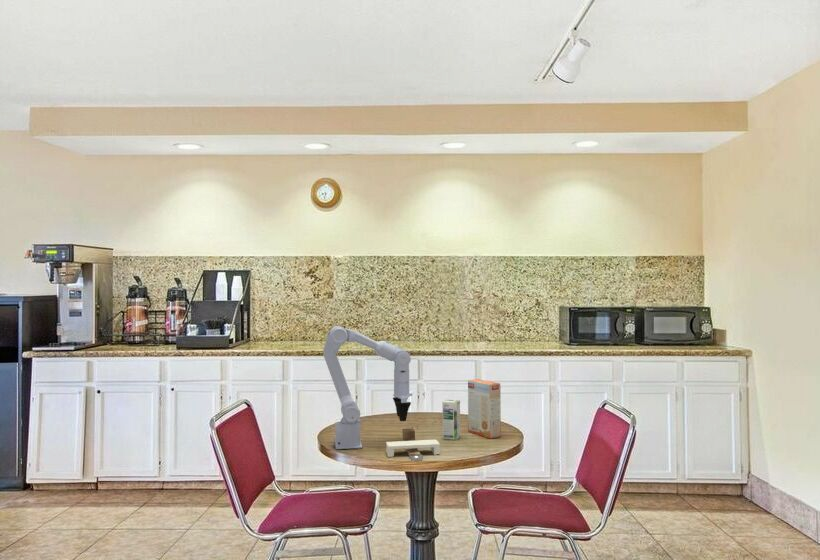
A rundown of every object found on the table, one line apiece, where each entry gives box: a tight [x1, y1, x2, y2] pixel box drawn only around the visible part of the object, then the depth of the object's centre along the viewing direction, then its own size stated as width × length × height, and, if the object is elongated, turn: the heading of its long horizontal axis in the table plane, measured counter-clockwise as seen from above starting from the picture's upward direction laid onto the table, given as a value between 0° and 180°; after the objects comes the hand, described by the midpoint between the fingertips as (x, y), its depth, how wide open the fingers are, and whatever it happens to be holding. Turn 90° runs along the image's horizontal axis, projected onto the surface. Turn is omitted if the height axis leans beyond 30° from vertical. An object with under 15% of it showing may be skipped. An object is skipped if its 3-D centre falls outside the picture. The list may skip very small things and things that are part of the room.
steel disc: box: [409, 453, 424, 461], centre depth 187 cm, size 4×4×1 cm
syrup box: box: [441, 398, 461, 441], centre depth 214 cm, size 6×6×14 cm
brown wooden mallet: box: [402, 427, 421, 457], centre depth 197 cm, size 4×16×6 cm, turn 9°
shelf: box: [385, 439, 441, 458], centre depth 193 cm, size 18×6×4 cm, turn 99°
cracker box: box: [467, 378, 502, 439], centre depth 219 cm, size 14×6×21 cm, turn 31°
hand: (401, 418), depth 207 cm, fingers open, 7 cm apart
